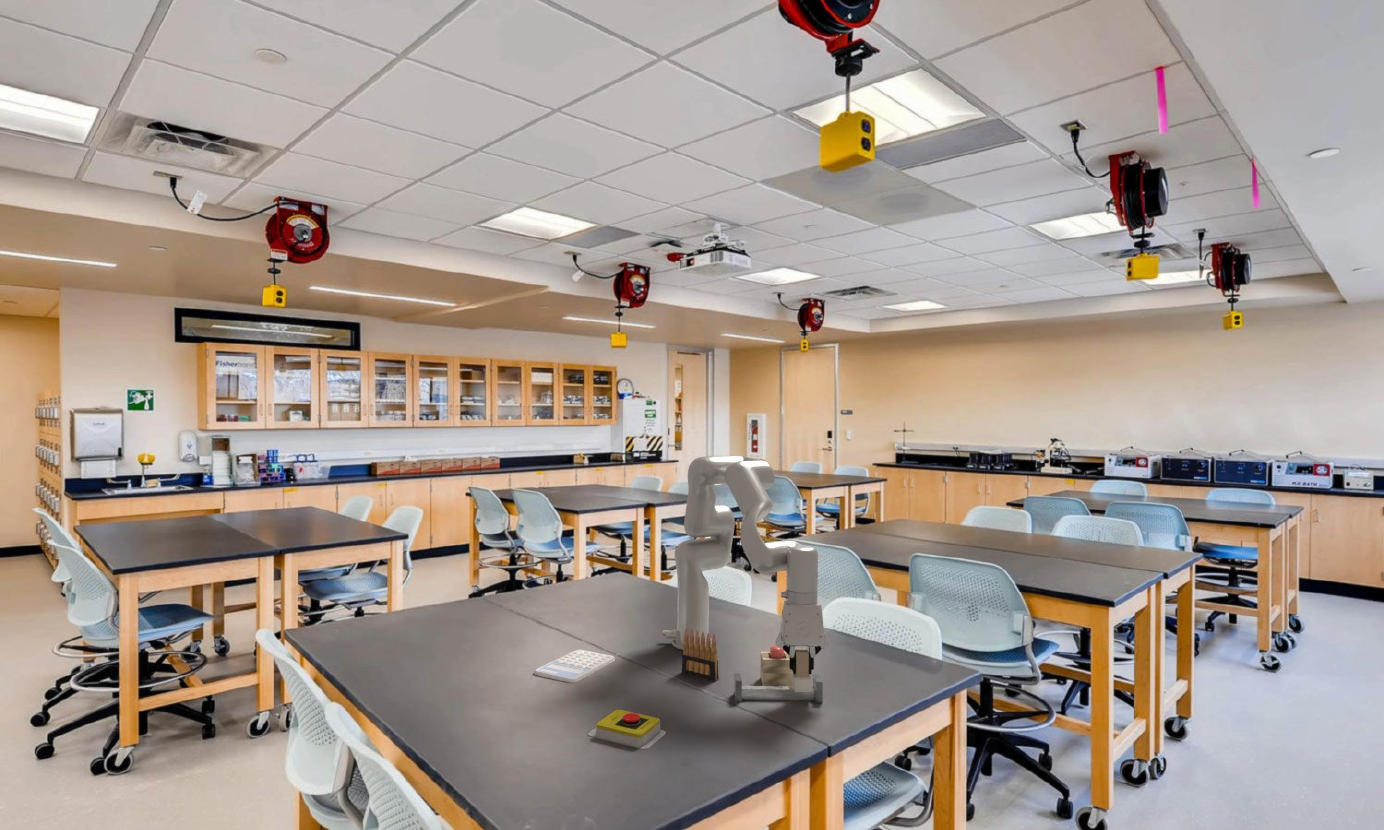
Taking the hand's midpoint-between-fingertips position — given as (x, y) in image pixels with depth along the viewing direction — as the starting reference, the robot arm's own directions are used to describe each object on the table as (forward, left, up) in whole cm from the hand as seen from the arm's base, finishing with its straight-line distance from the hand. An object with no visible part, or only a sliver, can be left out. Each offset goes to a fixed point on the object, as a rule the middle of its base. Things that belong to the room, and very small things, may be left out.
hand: (801, 671), depth 168 cm
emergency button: (-41, -20, -7) cm, 46 cm away
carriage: (0, 0, -4) cm, 4 cm away
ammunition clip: (-25, +14, -7) cm, 29 cm away
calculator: (-59, +20, -7) cm, 63 cm away
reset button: (-5, +10, -1) cm, 11 cm away
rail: (-6, 0, -7) cm, 9 cm away
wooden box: (-5, +10, -7) cm, 13 cm away
